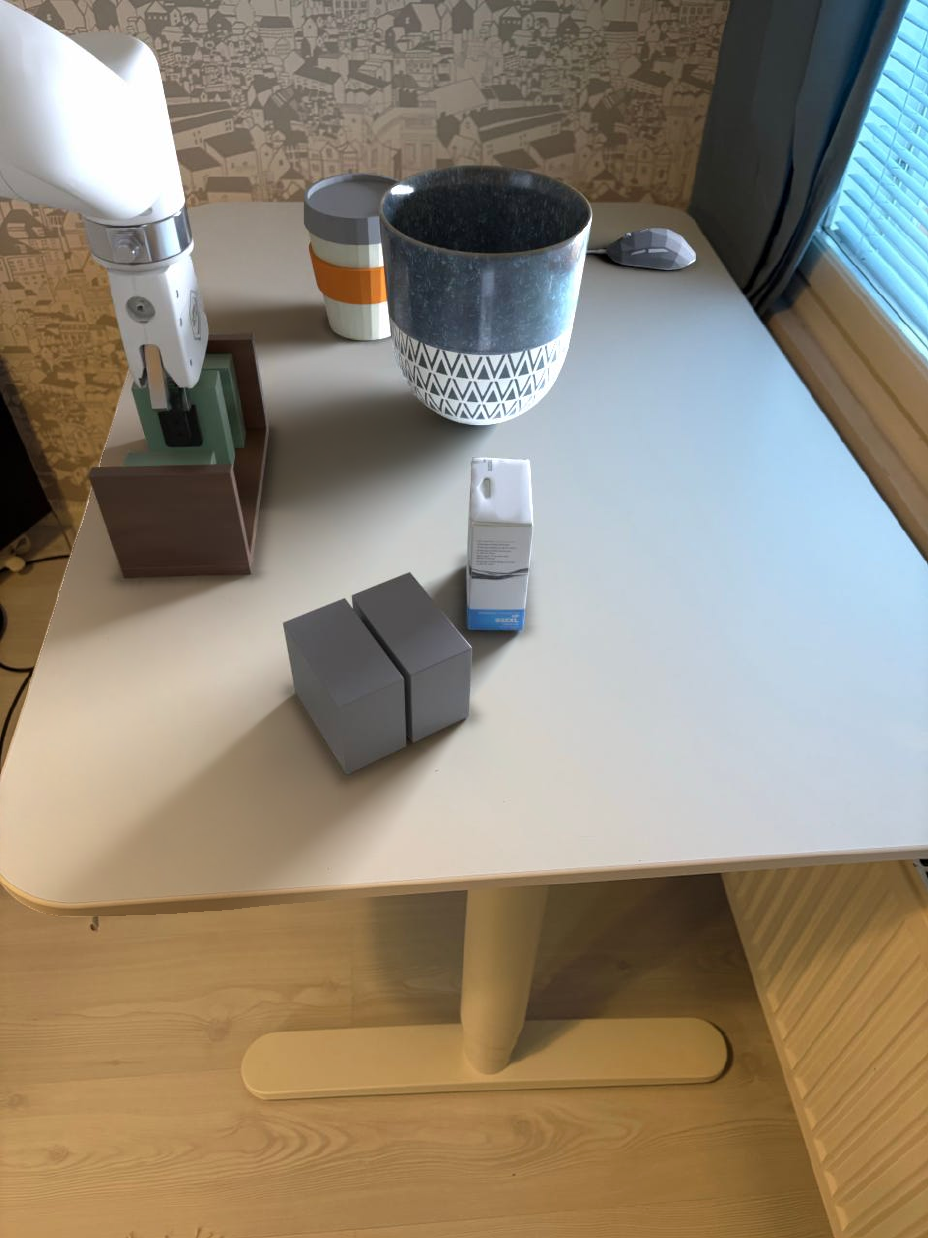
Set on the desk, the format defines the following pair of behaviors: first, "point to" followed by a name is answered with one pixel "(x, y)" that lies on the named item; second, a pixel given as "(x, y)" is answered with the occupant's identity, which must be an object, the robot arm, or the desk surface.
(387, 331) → the reusable coffee cup
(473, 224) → the planter
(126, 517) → the book rack
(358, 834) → the desk surface
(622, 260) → the gaming mouse
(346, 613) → the grey blocks
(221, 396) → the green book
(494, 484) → the ink box
